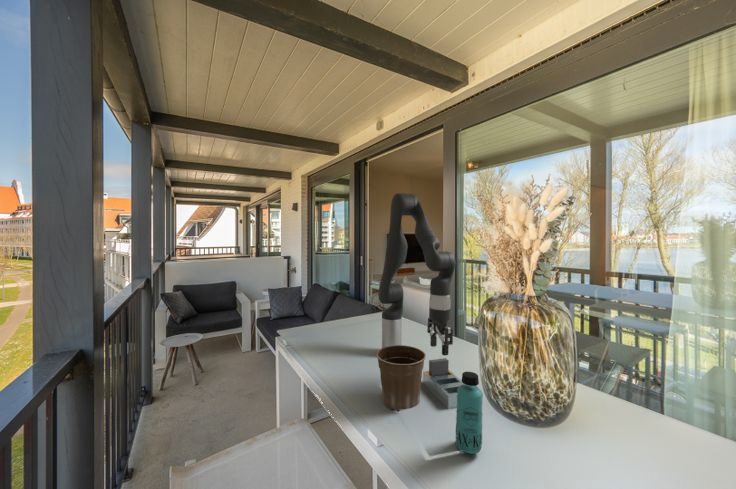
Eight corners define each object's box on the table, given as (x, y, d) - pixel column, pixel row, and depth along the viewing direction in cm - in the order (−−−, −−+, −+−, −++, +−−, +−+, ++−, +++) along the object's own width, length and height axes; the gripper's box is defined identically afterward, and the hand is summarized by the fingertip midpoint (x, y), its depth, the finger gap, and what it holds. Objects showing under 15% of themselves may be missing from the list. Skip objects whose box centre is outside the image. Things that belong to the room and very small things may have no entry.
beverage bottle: (451, 443, 80) (452, 368, 80) (475, 442, 81) (476, 367, 80) (461, 461, 74) (462, 380, 73) (487, 459, 74) (488, 379, 74)
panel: (428, 384, 110) (429, 360, 110) (445, 382, 112) (445, 358, 112) (431, 387, 108) (431, 362, 108) (448, 384, 110) (448, 360, 110)
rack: (422, 385, 112) (423, 370, 112) (446, 381, 115) (446, 368, 115) (448, 412, 95) (448, 395, 95) (475, 407, 97) (475, 391, 97)
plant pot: (392, 421, 90) (393, 367, 89) (367, 396, 104) (367, 349, 104) (435, 407, 97) (436, 358, 97) (406, 385, 111) (407, 342, 111)
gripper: (421, 302, 116) (421, 344, 116) (440, 311, 102) (439, 359, 102) (439, 301, 118) (438, 342, 118) (459, 310, 104) (459, 357, 104)
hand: (439, 350), depth 110 cm, fingers open, 8 cm apart
